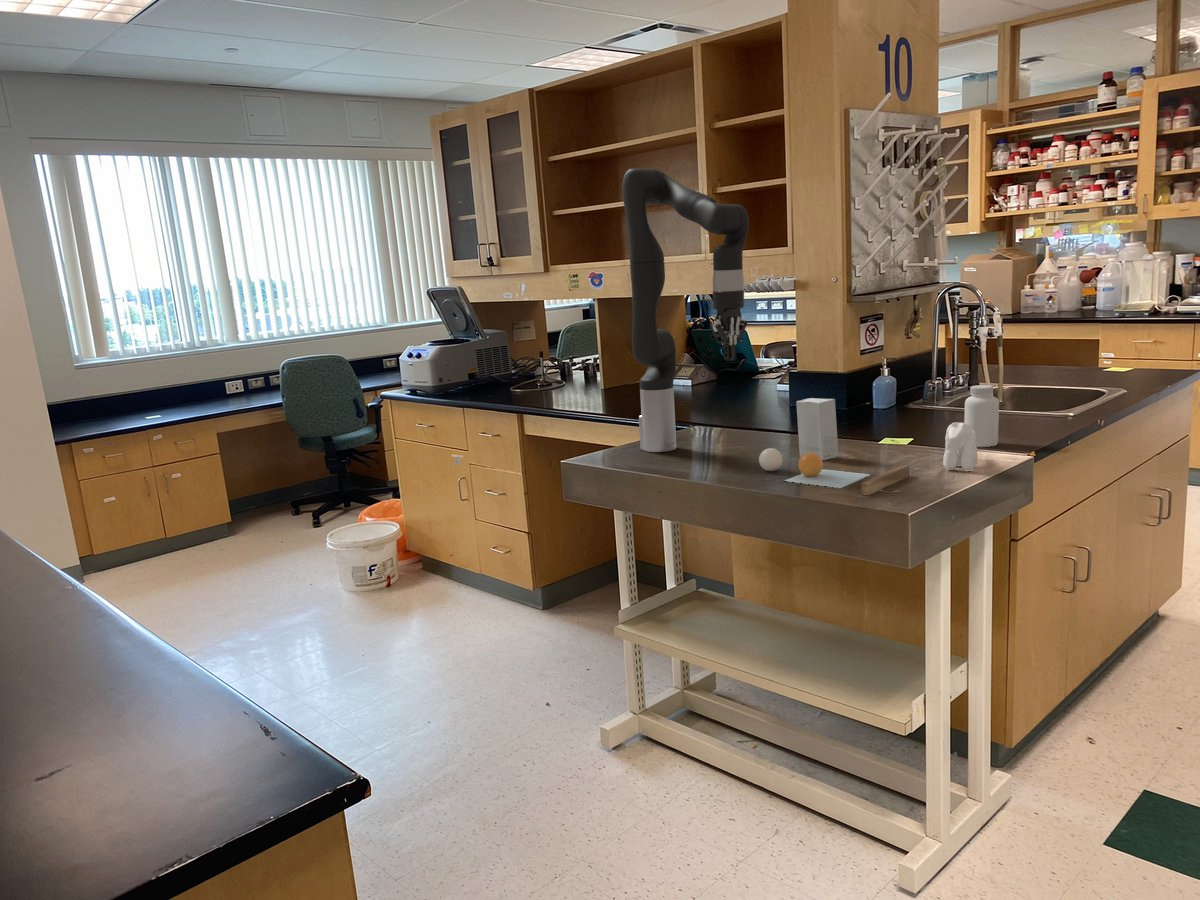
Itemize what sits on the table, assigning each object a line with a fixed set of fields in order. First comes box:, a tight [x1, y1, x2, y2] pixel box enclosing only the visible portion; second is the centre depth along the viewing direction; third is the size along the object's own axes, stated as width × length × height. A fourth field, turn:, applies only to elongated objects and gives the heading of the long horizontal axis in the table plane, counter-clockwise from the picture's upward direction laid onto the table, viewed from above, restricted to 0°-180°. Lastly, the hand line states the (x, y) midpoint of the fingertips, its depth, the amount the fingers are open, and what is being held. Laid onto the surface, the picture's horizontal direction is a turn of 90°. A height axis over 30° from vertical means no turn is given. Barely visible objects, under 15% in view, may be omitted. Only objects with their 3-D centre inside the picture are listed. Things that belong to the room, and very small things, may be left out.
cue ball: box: [758, 447, 783, 472], centre depth 208 cm, size 6×6×6 cm
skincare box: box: [795, 397, 839, 461], centre depth 218 cm, size 8×6×15 cm
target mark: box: [784, 468, 872, 489], centre depth 197 cm, size 14×14×1 cm
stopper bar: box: [860, 464, 910, 496], centre depth 188 cm, size 2×20×2 cm, turn 137°
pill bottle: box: [963, 384, 1000, 448], centre depth 221 cm, size 8×8×15 cm
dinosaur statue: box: [942, 422, 978, 471], centre depth 199 cm, size 7×24×11 cm, turn 145°
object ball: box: [797, 453, 824, 477], centre depth 200 cm, size 6×6×6 cm
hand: (729, 360), depth 215 cm, fingers closed
